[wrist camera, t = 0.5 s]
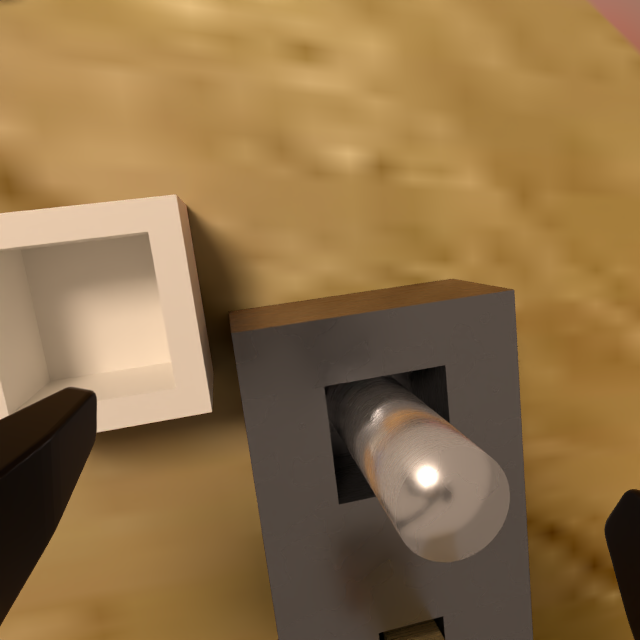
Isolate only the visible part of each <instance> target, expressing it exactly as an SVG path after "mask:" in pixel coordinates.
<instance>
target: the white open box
mask: <svg viewBox="0 0 640 640" xmlns="http://www.w3.org/2000/svg"><path fill="white" fill-rule="evenodd" d="M213 380H214V372H213V366H212V359H211V353H210V347H209V341H208V335H207V329H206V323H205V317H204V311H203V304H202V298H201V292H200V286H199V280H198V274H197V268H196V262H195V255H194V249H193V243H192V237H191V231H190V225H189V219H188V213H187V207H186V204H185V203H184V202H183V201H182V200H181V199H180V198H179V197H178V196H177V195H167V196H158V197H148V198H139V199H130V200H121V201H111V202H102V203H93V204H84V205H74V206H65V207H56V208H47V209H37V210H28V211H19V212H10V213H0V419H2V418H4V417H6V416H9V415H11V414H13V413H15V412H17V411H19V410H21V409H23V408H25V407H27V406H29V405H31V404H33V403H35V402H37V401H39V400H41V399H44V398H46V397H48V396H50V395H52V394H54V393H56V392H58V391H60V390H62V389H64V388H67V387H77V388H82V389H88V390H92V391H94V392H95V393H96V397H97V432H102V431H108V430H114V429H119V428H125V427H131V426H136V425H142V424H147V423H153V422H159V421H164V420H170V419H176V418H181V417H187V416H192V415H198V414H204V413H209V412H212V404H213Z"/></svg>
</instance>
